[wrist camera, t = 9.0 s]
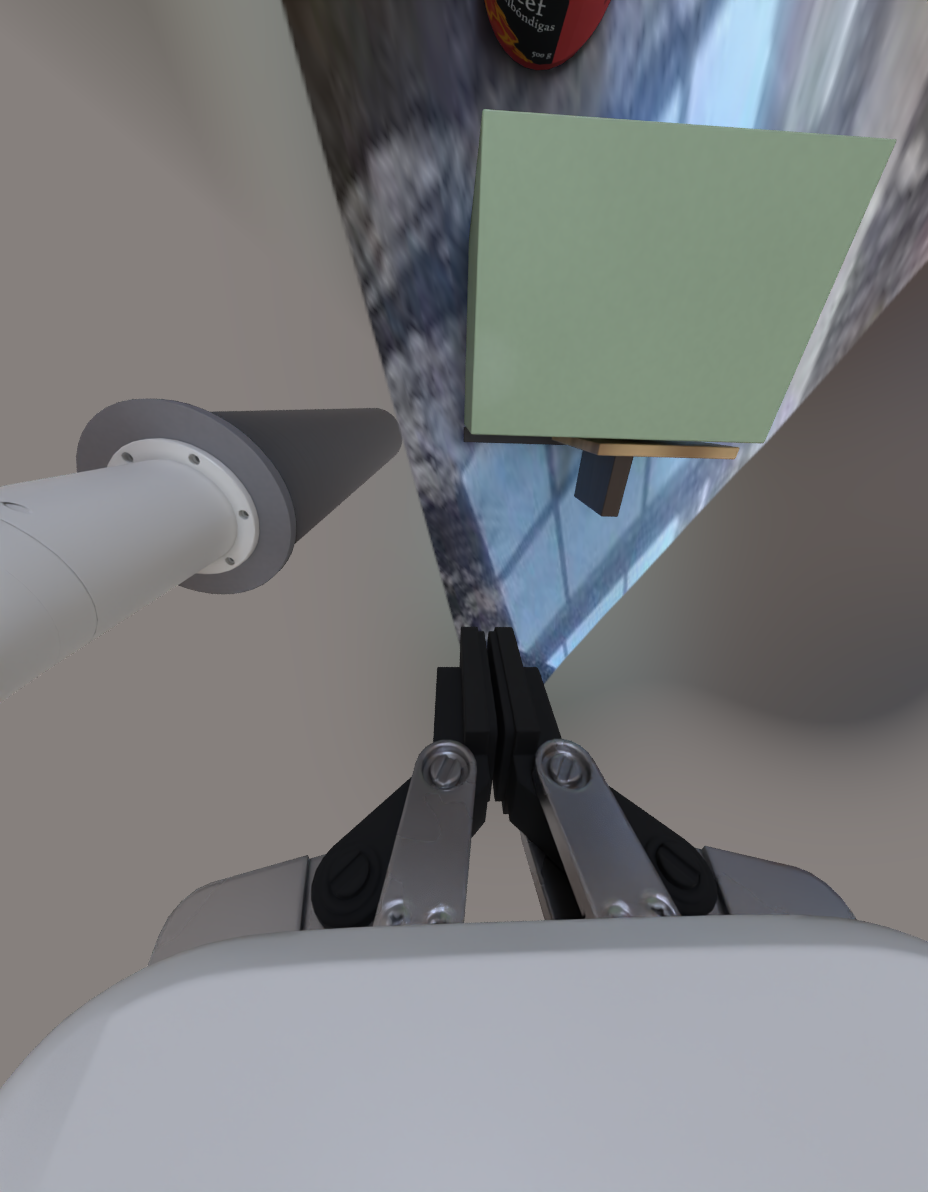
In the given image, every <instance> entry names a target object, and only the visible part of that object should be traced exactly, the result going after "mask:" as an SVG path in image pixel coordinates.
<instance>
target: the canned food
mask: <svg viewBox="0 0 928 1192" xmlns="http://www.w3.org/2000/svg"><path fill="white" fill-rule="evenodd" d="M484 1H485V5H486V9H487V13H488V17H489V21H490V23H491V26H492V28H493V31H494V33H495V36H496V38H497V39H498V41H499V43H500V44H501V46H502V47H503V49H504V50H505V52H506V53H507V54H508V55H509V56H510V57H511V58H512V59H513V60H514V61H516V62H517V63H519V64H521V65H522V66H524V67H526V68H530V69H534V70H546V69H551V68H553V67H556V66H558V65H561V64H562V63H564V62H565V61H567V60H568V59H569V58H571V57H572V56H573V55H574V54H575V53H576V52H577V51H578V50H579V49H580V48H581V47H582V45H583V44H584V43H585V42H586V41H587V40H588V39H589V37H590V36H591V35H592V33H593V32H594V30H595V29H596V27H597V26H598V24H599V23H600V21H601V19H602V17H603V15H604V13H605V11H606V9H607V7H608V5H609V3H610V1H611V0H484Z"/></svg>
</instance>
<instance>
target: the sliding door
mask: <svg viewBox="0 0 928 1192" xmlns="http://www.w3.org/2000/svg"><path fill="white" fill-rule="evenodd" d="M552 440H554V441H557V442H560V443H563V444H566V445H569V446H572V447H575V448H578V449H581V450H583V452H582V458H581V463H580V468H579V473H578V478H577V484H576V489H575V494H574V496H575V497H576V498H577V499H579V500H580V501H581V502H583V503H584V504H585V505H587V506H588V507H590V508H591V509H592V510H594V511H595V512H596V513H598V514H599V515H600V516H611V517H617V516H618V513H619V509H620V505H621V502H622V498H623V494H624V490H625V486H626V483H627V479H628V475H629V471H630V468H631V464H632V460H633V456H638V457H673V458H709V459H735V458H736V456H737V453H738V451H739V447H733V446H726V445H719V444H712V443H705V442H698V441H671V440H638V439H606V438H573V437H552Z"/></svg>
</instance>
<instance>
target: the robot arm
mask: <svg viewBox="0 0 928 1192" xmlns="http://www.w3.org/2000/svg"><path fill="white" fill-rule="evenodd" d="M247 513H248V514H247ZM258 538H259V519H258V514H257V510H256V507H255V505H254V503H253V501H252V498H251V496H250V495H249V493H248V491H247V490H246V488H245V487H244V485H243V484H242V482H241V481H240V480H239V479H238V478H237V477H236V475H235V474H234V473H233V472H232V471H231V470H230V469H229V468H228V467H226V466H225V465H224V464H223V463H222V462H221V461H219V460H218V459H216V458H215V457H213V456H212V455H210V454H209V453H207V452H206V451H204V450H202V449H200V448H198V447H195V446H193V445H191V444H188V443H185V442H181V441H178V440H173V439H165V438H154V439H144V440H138V441H133V442H131V443H129V444H127V445H125V446H123V447H121V448H120V449H119V450H118V451H117V452H116V453H115V454H114V455H113V456H112V458H111V460H110V462H109V463H108V465H107V467H106V468H101V469H95V470H90V471H84V472H78V473H73V474H67V475H62V476H56V477H50V478H45V479H39V480H34V481H28V482H22V483H16V484H11V485H5V486H0V703H2V702H3V701H4V700H6V699H7V698H8V697H10V696H11V695H12V694H14V693H15V692H17V691H18V690H20V689H21V688H22V687H24V686H25V685H27V684H28V683H30V682H31V681H33V680H34V679H35V678H37V677H38V676H40V675H41V674H43V673H44V672H46V671H47V670H49V669H50V668H52V667H53V666H55V665H56V664H58V663H59V662H61V661H62V660H64V659H65V658H67V657H69V656H70V655H72V654H73V653H75V652H76V651H78V650H79V649H81V648H82V647H84V646H85V645H87V644H88V643H90V642H91V641H93V640H95V639H96V638H98V637H99V636H101V635H102V634H104V633H106V632H107V631H109V630H110V629H112V628H113V627H115V626H116V625H117V624H119V623H121V622H122V621H124V620H125V619H127V618H128V617H130V616H132V615H133V614H135V613H136V612H138V611H139V610H140V609H142V608H144V607H145V606H147V605H148V604H150V603H151V602H153V601H154V600H156V599H157V598H159V597H160V596H162V595H164V594H165V593H167V592H168V591H170V590H171V589H173V588H174V587H176V586H177V585H179V584H180V583H182V582H183V581H185V580H186V579H188V578H189V577H191V576H192V575H194V574H196V573H199V574H218V573H223V572H226V571H230V570H232V569H234V568H236V567H237V566H239V565H240V564H242V563H243V562H244V561H246V560H247V559H248V558H249V556H250V555H251V554H252V553H253V552H254V549H255V547H256V545H257V543H258ZM492 780H493V789H494V798H495V801H502V807H503V814H509V820H510V822H511V823H512V824H514V825H515V826H516V827H517V828H518V829H519V830H520V835H521V840H522V844H523V847H524V851H525V854H526V857H527V861H528V864H529V867H530V871H531V875H532V878H533V881H534V885H535V888H536V892H537V895H538V898H539V902H540V905H541V909H542V912H543V916H544V919H545V920H543V921H542V920H541V921H513V922H512V921H511V922H484V923H482V922H481V923H464V917H465V904H466V893H467V882H468V870H469V859H470V848H471V838H472V837H473V836H474V834H475V833H476V832H477V831H478V830H479V828H480V827H481V826H482V825H483V823H484V822H485V818H486V810H487V802H489V801H490V794H491V786H492ZM0 1192H928V942H927V941H925V940H922V939H920V938H918V937H915V936H912V935H909V934H906V933H903V932H901V931H898V930H894V929H891V928H889V927H885V926H881V925H877V924H873V923H869V922H865V921H859V920H857V919H856V918H855V916H854V914H853V913H852V911H851V910H850V909H849V907H848V906H847V905H846V904H845V902H844V901H843V899H842V898H841V897H840V896H839V895H838V894H837V893H836V892H835V891H834V890H833V889H832V888H831V887H830V886H828V885H827V884H826V883H825V882H824V881H822V880H821V879H819V878H818V877H816V876H814V875H813V874H812V873H810V872H808V871H805V870H802V869H800V868H797V867H794V866H790V865H785V864H781V863H777V862H772V861H768V860H764V859H760V858H755V857H751V856H747V855H742V854H738V853H734V852H730V851H725V850H721V849H716V848H712V847H708V846H704V847H703V849H698V848H694V847H693V846H692V845H691V844H690V843H688V842H687V841H686V840H685V839H683V838H682V837H681V836H679V835H678V834H676V833H675V832H674V831H672V830H671V829H669V828H668V827H666V826H665V825H664V824H662V823H661V822H659V821H658V820H657V819H655V818H654V817H652V816H651V815H649V814H648V813H647V812H645V811H644V810H642V809H641V808H640V807H638V806H637V805H635V804H634V803H632V802H631V801H630V800H628V799H627V798H625V797H624V796H622V795H621V794H619V793H618V792H617V791H615V790H614V789H613V788H611V787H610V786H608V784H607V783H606V781H605V779H604V777H603V776H602V774H601V772H600V770H599V768H598V767H597V765H596V763H595V761H594V760H593V758H592V757H591V756H590V754H589V753H588V752H587V751H586V750H585V749H583V748H582V747H581V746H580V745H578V744H576V743H574V742H572V741H569V740H564V739H562V738H561V735H560V732H559V729H558V726H557V723H556V720H555V717H554V714H553V711H552V708H551V705H550V702H549V699H548V696H547V693H546V690H545V687H544V684H543V681H542V678H541V675H540V672H539V670H538V668H537V667H523V664H522V660H521V657H520V653H519V650H518V646H517V642H516V639H515V635H514V631H513V628H512V627H495V630H494V631H489V633H488V644H487V648H486V641H485V634H484V631H478V627H461V640H460V667H438V668H437V683H436V701H435V721H434V738H433V743H432V744H430V745H428V746H427V747H425V749H424V750H423V751H422V752H421V753H420V754H419V756H418V758H417V761H416V763H415V767H414V771H413V775H412V777H411V778H410V779H409V780H407V781H406V782H405V783H404V784H403V785H402V786H401V787H400V788H398V789H397V790H396V791H395V792H394V793H393V794H392V795H391V796H389V797H388V798H387V799H386V800H385V801H384V802H383V803H382V804H381V805H379V806H378V807H377V808H376V809H375V810H374V811H373V812H371V813H370V814H369V815H368V816H367V817H366V818H365V819H363V820H362V821H361V822H360V823H359V824H358V825H357V826H356V827H355V828H353V829H352V830H351V831H350V832H349V833H348V834H347V835H345V836H344V837H343V838H342V839H341V840H340V841H339V842H338V843H336V844H335V845H334V846H333V847H332V848H331V849H330V850H329V851H328V853H327V854H325V855H321V856H318V857H314V858H311V859H309V857H308V855H306V856H303V857H299V858H296V859H293V860H289V861H285V862H282V863H278V864H275V865H271V866H268V867H264V868H261V869H257V870H254V871H250V872H247V873H243V874H240V875H236V876H233V877H229V878H225V879H222V880H218V881H215V882H212V883H209V884H207V885H205V886H203V887H200V888H198V889H196V890H195V891H194V892H192V893H191V894H190V895H189V896H187V897H186V898H185V899H184V900H183V901H181V902H180V904H179V905H178V906H177V907H176V909H175V910H174V911H173V912H172V913H171V915H170V916H169V917H168V919H167V921H166V923H165V925H164V927H163V929H162V930H161V932H160V934H159V936H158V939H157V942H156V945H155V947H154V950H153V953H152V955H151V958H150V961H149V964H148V966H147V967H146V968H143V969H142V970H140V971H138V972H136V973H134V974H132V975H130V976H128V977H127V978H125V979H123V980H121V981H119V982H117V983H116V984H115V985H113V986H111V987H110V988H108V989H107V990H105V991H104V992H102V993H100V994H99V995H97V996H96V997H94V998H92V999H91V1000H89V1001H88V1002H87V1003H85V1004H84V1005H83V1006H81V1007H80V1008H79V1009H77V1010H76V1011H75V1012H74V1013H72V1014H71V1015H70V1016H68V1017H67V1018H66V1019H64V1020H63V1021H62V1022H61V1023H60V1024H59V1025H58V1026H57V1027H55V1028H54V1029H53V1030H52V1031H51V1032H50V1033H49V1034H48V1035H47V1036H46V1037H45V1038H44V1039H43V1040H42V1041H41V1042H40V1043H39V1044H38V1045H37V1046H36V1047H35V1049H33V1051H32V1052H31V1053H30V1054H29V1055H28V1056H27V1057H26V1058H25V1059H24V1060H23V1061H22V1063H21V1064H20V1065H19V1066H18V1067H17V1069H16V1070H15V1071H14V1072H13V1073H12V1075H11V1076H10V1077H9V1079H8V1080H7V1081H6V1082H5V1083H4V1085H3V1086H2V1087H1V1088H0Z"/></svg>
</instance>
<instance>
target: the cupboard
mask: <svg viewBox="0 0 928 1192" xmlns="http://www.w3.org/2000/svg"><path fill="white" fill-rule="evenodd" d="M895 143H896V139H884V138H870V137H856V136H843V135H829V134H815V133H802V132H788V131H775V130H761V129H747V128H734V127H720V126H706V125H693V124H679V123H665V122H652V121H638V120H625V119H611V118H597V117H584V116H570V115H556V114H543V113H529V112H515V111H502V110H488V109H484V110H483V112H482V119H481V129H480V138H479V148H478V158H477V167H476V177H475V187H474V196H473V206H472V215H471V225H470V235H469V261H468V298H467V336H466V373H465V411H464V425H465V426H466V427H464V442H484V443H518V444H551V445H566V444H563V443H560V442H557V441H554V440H552V437H573V438H606V439H638V440H671V441H703V442H736V443H764V442H765V439H766V437H767V435H768V432H769V430H770V428H771V426H772V423H773V421H774V419H775V417H776V414H777V412H778V410H779V407H780V405H781V403H782V401H783V398H784V396H785V394H786V391H787V389H788V387H789V385H790V382H791V380H792V378H793V375H794V373H795V371H796V369H797V366H798V364H799V362H800V360H801V357H802V355H803V353H804V350H805V348H806V346H807V344H808V341H809V339H810V337H811V334H812V332H813V330H814V328H815V325H816V323H817V321H818V319H819V316H820V314H821V312H822V309H823V307H824V305H825V303H826V300H827V298H828V296H829V293H830V291H831V289H832V287H833V284H834V282H835V280H836V277H837V275H838V273H839V271H840V268H841V266H842V264H843V262H844V259H845V257H846V255H847V252H848V250H849V248H850V246H851V243H852V241H853V239H854V236H855V234H856V232H857V230H858V227H859V225H860V223H861V220H862V218H863V216H864V214H865V211H866V209H867V207H868V205H869V202H870V200H871V198H872V195H873V193H874V191H875V189H876V186H877V184H878V182H879V179H880V177H881V175H882V173H883V170H884V168H885V166H886V163H887V161H888V159H889V157H890V154H891V152H892V150H893V148H894V145H895Z"/></svg>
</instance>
